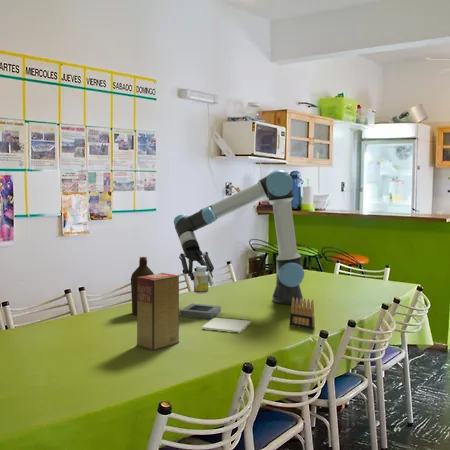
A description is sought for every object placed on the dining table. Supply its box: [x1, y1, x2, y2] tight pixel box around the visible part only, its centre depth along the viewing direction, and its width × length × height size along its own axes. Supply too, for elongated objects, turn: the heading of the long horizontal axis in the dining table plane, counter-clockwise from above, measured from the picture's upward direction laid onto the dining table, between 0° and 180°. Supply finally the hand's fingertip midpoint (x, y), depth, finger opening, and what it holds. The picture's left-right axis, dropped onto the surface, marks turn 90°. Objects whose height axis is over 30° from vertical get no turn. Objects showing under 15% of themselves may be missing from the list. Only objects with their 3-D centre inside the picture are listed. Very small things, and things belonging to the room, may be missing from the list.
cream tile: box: [201, 317, 252, 334], centre depth 229 cm, size 16×16×1 cm
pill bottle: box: [193, 265, 209, 295], centre depth 248 cm, size 6×6×12 cm
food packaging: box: [136, 272, 180, 351], centre depth 202 cm, size 13×9×25 cm
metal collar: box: [179, 303, 222, 320], centre depth 249 cm, size 14×14×2 cm
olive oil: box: [130, 256, 155, 316], centre depth 247 cm, size 11×11×25 cm
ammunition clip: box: [289, 297, 316, 330], centre depth 230 cm, size 11×2×12 cm, turn 54°
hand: (204, 284), depth 245 cm, fingers closed on pill bottle, 6 cm apart
